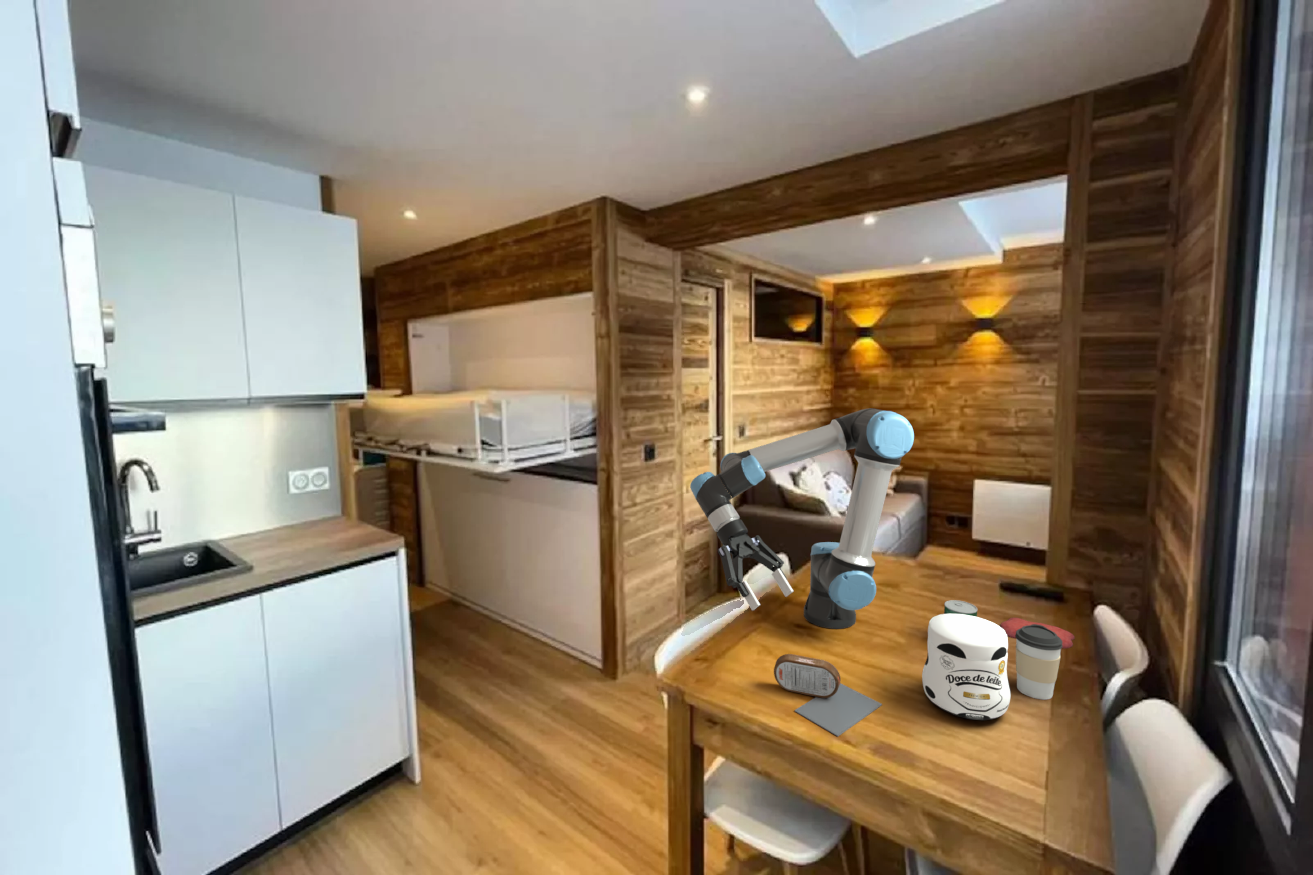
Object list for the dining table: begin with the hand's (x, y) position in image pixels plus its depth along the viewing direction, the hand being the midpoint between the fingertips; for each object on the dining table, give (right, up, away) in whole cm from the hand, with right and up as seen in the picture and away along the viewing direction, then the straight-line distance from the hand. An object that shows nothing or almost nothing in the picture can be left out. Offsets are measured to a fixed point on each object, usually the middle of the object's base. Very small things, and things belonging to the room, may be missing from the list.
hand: (773, 600), depth 136 cm
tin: (+7, -20, -5) cm, 22 cm away
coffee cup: (+60, -20, -5) cm, 63 cm away
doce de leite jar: (+41, -21, -10) cm, 47 cm away
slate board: (+12, -21, -11) cm, 27 cm away
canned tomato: (+54, -17, +16) cm, 59 cm away
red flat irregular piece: (+79, -16, +22) cm, 84 cm away
